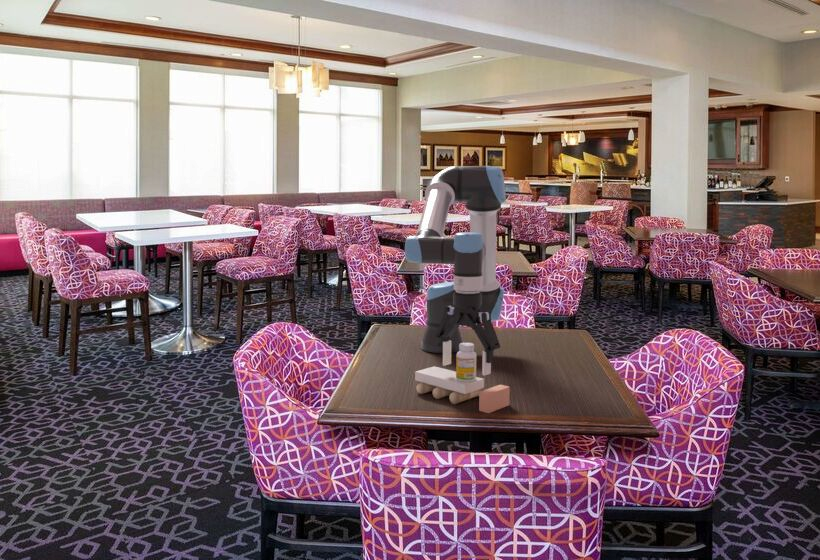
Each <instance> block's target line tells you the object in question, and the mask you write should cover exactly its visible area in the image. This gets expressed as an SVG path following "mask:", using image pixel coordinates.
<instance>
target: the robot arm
mask: <svg viewBox="0 0 820 560" xmlns="http://www.w3.org/2000/svg"><path fill="white" fill-rule="evenodd" d="M506 197H507V196H506V184H505V177H504V172H503V169H502V168H501V167H500V166H492V165H491V166H490V165H453V166H449V167H447V168H445V169H443V170H440V172H438V173H437V174H435V175H434V176H433V177H432V178H431V179H430V180H429V182H428V184H427V185H426V188H425V191H424V199H425V203H424V206H423V209H422V210H423V211H422V214H421V217H420V221H419V225H418V227H417V231H416V235H411V236H407V237H406V239H405V244H404V257H405V260H406V261H407V262H409V263H412V264H413V263H417V264H420V265H421V264H443V265H445V264H446V265H453V281H445V282H439V283H435V284H431V285H430V286H429V287H427V290H426V298H425V299H426V328H425V331H424V333H423V337H422V340H421V345H420V346H421V349H422V350H423V351H424V352H428V353H435V354H442V366H444V367H446V366H447V365H451V364H452V354H454V352H455V353H457V352H459V351H460V350H459V344H460V343H465V341H464V339H463V334H462V332H461V327H463V326H465V327H467V328H471V330H473V331H474V333H475V335H476V336H477V338H478V339H479V341H480V342H481V345H482V346H483V348H484V349H483V350H482V360H481V361H482V365H481V370H482V371H481V375H482V376H483V377H484V376H487V375H490V374H491V373H492V363H493V362H494V351H495V350H498V349H500V348H501V344H500V341H499V339H498V336H497V334H496V330H495V327H494V325H493V322H497V321H499V319H500V318H501V314H502V313H501V312H502V308H503V307H502V306H503V301H504V300H503V299H504V295H505V288H504V287H501V283H500V281H499V280H498V279H497V275H496V273H497V271H496V270H497V262H496V260H497V212H499V210H501V208H502V204H505V203H506V202H507V201H506ZM453 203H465V204H464V205H465V210H467V212H468V213H469V232H468V231H465V232H463V231H461V232H456V233H455V234H454V236H444V233H445V228H446V224H447V221H448V220H447V219H448V215H449V210H450V207H452V205H453ZM460 326H461V327H460Z"/></svg>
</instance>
